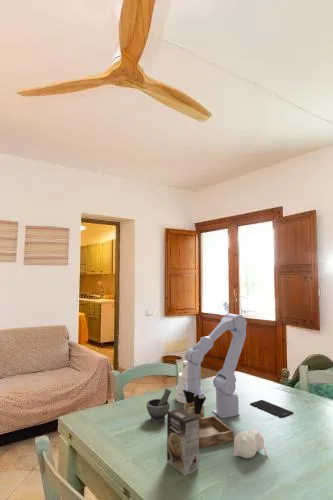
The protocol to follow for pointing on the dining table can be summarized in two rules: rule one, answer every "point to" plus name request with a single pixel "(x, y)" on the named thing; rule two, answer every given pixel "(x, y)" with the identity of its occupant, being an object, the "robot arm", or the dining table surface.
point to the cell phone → (271, 408)
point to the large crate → (213, 432)
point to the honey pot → (182, 384)
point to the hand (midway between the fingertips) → (193, 410)
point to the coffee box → (183, 440)
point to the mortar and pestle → (159, 407)
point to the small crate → (193, 409)
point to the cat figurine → (249, 444)
